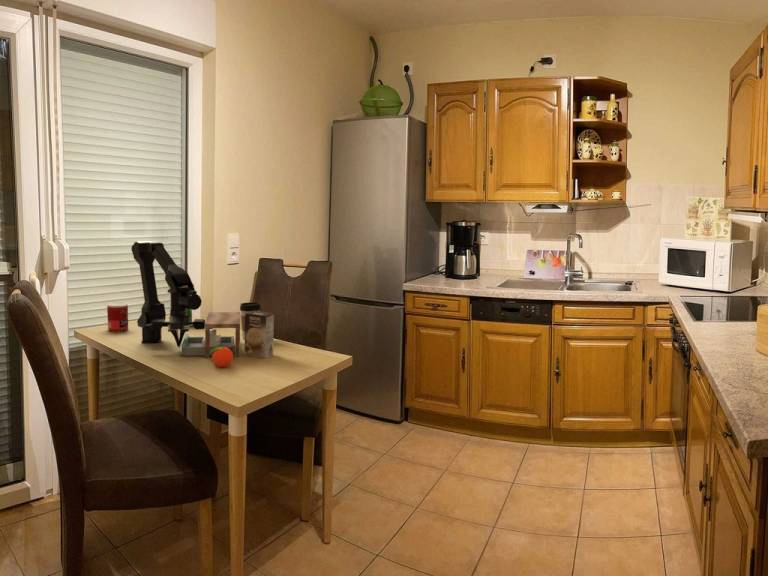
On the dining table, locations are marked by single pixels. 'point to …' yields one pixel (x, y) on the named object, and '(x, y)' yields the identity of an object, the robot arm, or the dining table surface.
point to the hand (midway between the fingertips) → (179, 346)
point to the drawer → (195, 347)
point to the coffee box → (259, 334)
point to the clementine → (222, 356)
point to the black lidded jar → (245, 309)
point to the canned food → (117, 316)
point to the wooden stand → (222, 322)
